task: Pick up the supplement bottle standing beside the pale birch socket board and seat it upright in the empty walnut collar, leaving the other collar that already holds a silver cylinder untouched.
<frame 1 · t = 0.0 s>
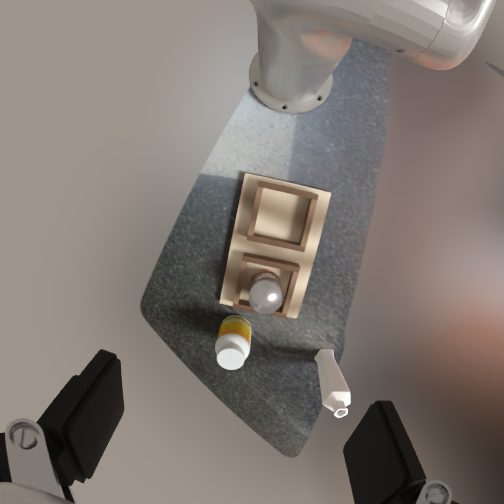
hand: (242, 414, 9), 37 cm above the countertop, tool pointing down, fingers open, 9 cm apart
silver cylinder: (265, 283, 46), point 1 cm above the countertop, touching socket board
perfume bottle: (323, 356, 51), on the countertop
supplement bottle: (236, 326, 50), on the countertop
socket board: (273, 248, 45), on the countertop
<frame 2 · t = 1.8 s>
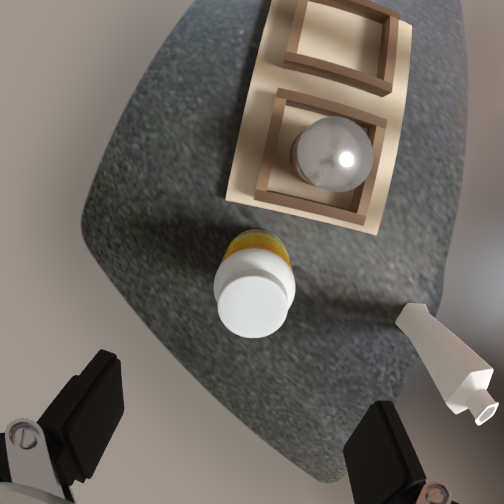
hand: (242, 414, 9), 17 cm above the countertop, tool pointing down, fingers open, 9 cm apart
silver cylinder: (319, 157, 22), point 1 cm above the countertop, touching socket board
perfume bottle: (409, 317, 27), on the countertop
supplement bottle: (256, 257, 26), on the countertop
socket board: (329, 96, 21), on the countertop
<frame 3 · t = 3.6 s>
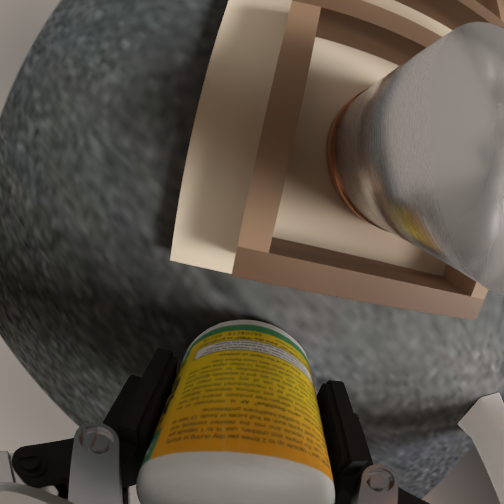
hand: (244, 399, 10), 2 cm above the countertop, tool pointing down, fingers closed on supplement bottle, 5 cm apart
silver cylinder: (392, 158, 8), point 1 cm above the countertop, touching socket board
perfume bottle: (475, 411, 13), on the countertop
supplement bottle: (246, 365, 12), on the countertop, touching gripper
socket board: (398, 36, 8), on the countertop
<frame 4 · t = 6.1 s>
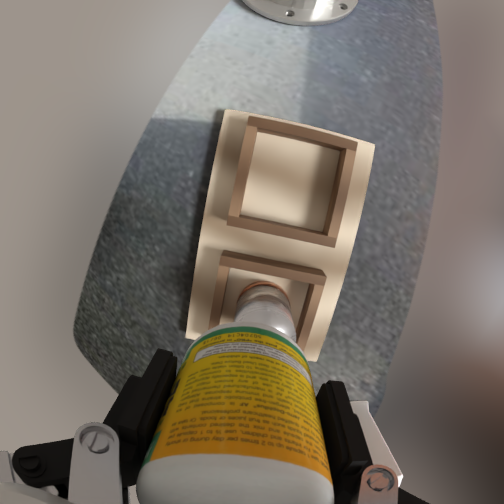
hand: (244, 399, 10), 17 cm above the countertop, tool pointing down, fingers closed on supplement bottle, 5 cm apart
silver cylinder: (263, 305, 26), point 1 cm above the countertop, touching socket board
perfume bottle: (352, 410, 30), on the countertop
supplement bottle: (246, 366, 12), point 14 cm above the countertop, touching gripper
socket board: (276, 243, 25), on the countertop
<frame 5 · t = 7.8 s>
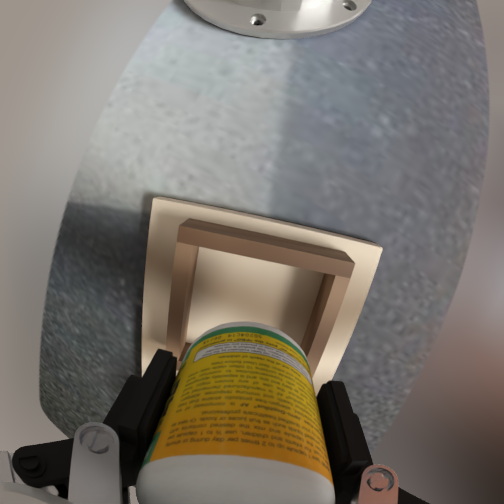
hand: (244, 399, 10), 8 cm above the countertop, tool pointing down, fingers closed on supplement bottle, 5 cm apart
supplement bottle: (246, 366, 12), point 6 cm above the countertop, touching gripper
socket board: (236, 367, 19), on the countertop
when the fingers open (4 cm above the countertop, at t = 8.9 s): supplement bottle drops 1 cm, resting on socket board.
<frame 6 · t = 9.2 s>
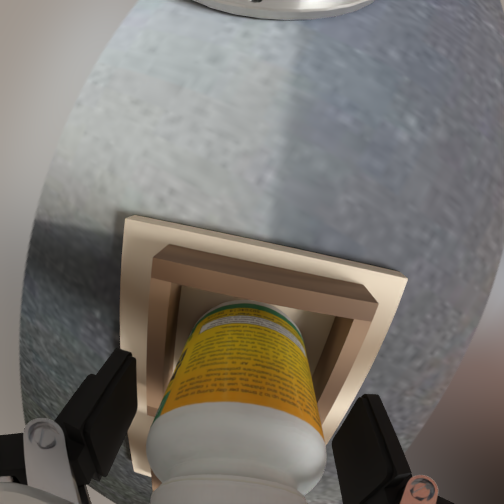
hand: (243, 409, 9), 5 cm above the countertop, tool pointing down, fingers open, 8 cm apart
supplement bottle: (246, 344, 13), point 1 cm above the countertop, touching socket board
socket board: (230, 409, 16), on the countertop
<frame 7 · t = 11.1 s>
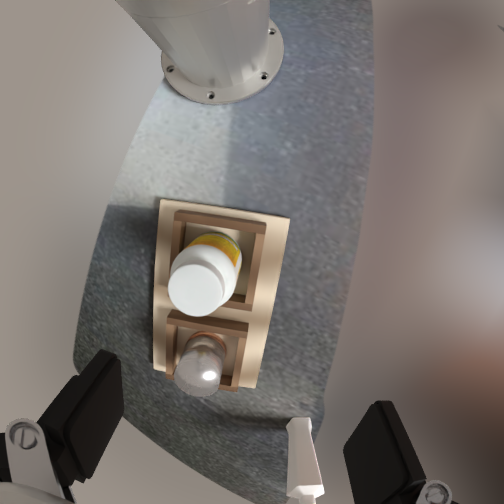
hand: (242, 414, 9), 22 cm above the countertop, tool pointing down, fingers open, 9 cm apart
silver cylinder: (206, 348, 32), point 1 cm above the countertop, touching socket board
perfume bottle: (297, 424, 37), on the countertop
supplement bottle: (216, 255, 30), point 1 cm above the countertop, touching socket board
socket board: (212, 302, 32), on the countertop
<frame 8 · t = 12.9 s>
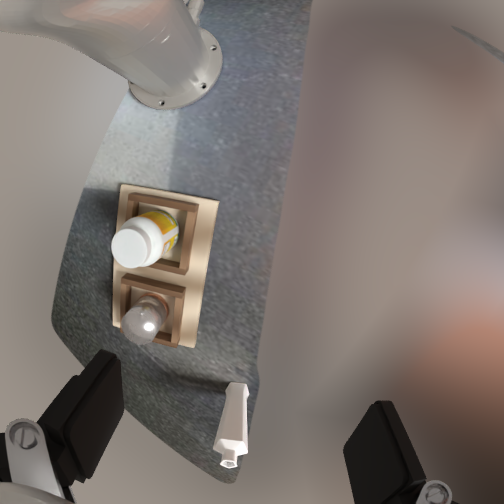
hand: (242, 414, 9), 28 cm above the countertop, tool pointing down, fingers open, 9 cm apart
silver cylinder: (153, 307, 39), point 1 cm above the countertop, touching socket board
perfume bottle: (236, 389, 43), on the countertop
supplement bottle: (160, 229, 36), point 1 cm above the countertop, touching socket board
socket board: (158, 269, 38), on the countertop
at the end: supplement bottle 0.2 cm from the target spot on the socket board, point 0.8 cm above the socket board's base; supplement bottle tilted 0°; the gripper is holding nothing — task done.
